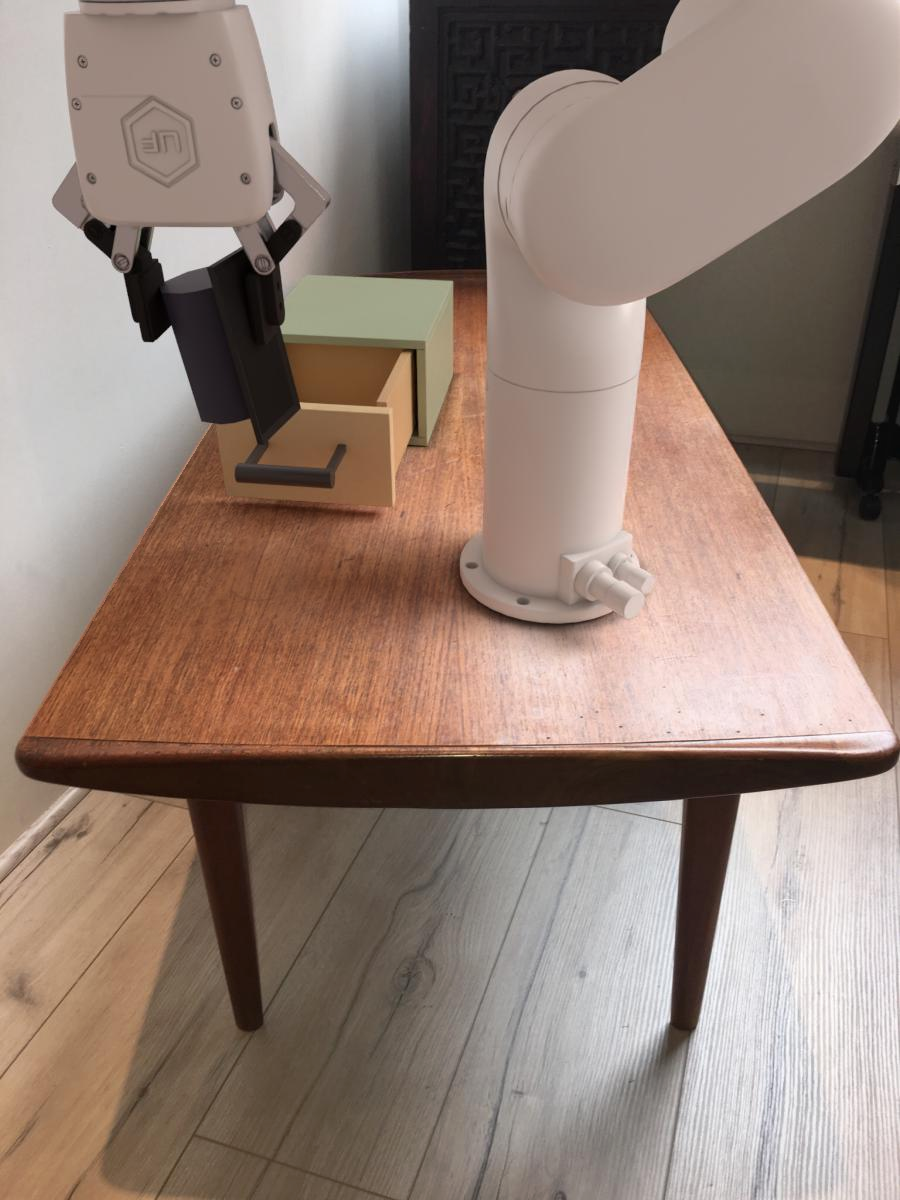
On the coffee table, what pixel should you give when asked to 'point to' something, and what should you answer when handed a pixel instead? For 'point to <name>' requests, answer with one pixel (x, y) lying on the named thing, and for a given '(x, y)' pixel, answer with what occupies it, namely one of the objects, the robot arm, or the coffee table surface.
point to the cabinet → (381, 327)
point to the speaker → (229, 349)
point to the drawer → (330, 430)
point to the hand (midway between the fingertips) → (211, 332)
